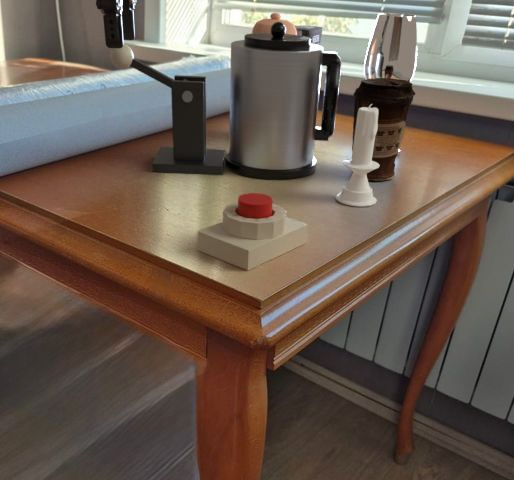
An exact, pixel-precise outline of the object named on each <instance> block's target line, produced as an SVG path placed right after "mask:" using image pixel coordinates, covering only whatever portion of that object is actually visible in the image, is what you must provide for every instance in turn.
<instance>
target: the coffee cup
mask: <svg viewBox="0 0 514 480" xmlns="http://www.w3.org/2000/svg"><path fill="white" fill-rule="evenodd" d="M352 96H353V97H354V101H353V103H354V104H353V107H354V109H353V122H352V144H351V151H352V152H353V144H354V136H355V129H356V121H357V114H358V110H359V108H362V107H369V106H370V105H371V104H372V105H371V107H370V108H377V109H378V111H379V114H378V130H377V133H376V135H375V141H374V148H373V155H372V161H375V162H377V163H378V164H379V165H380V166H379V168H377V169H375V170H373V171H371V172H369V173H367V179H368V181H387V180H388V181H389V180H392V179H393V178H395V176H396V174H395V168H396V158H397V157H398V155H399V154H398V151H399V150H400V147H401V145H402V143H403V138H404V135H405V132H406V126H407V124H406V121H407V118H408V113H409V109H410V107H411V105H412V102H413V101H414V97H415V96H416V92H415V91H414V89H413V83H412V82H411V81H410V82H409V81H406V80H401V79H393V78H375V79H363V80H360V84H359V85H358V87H356V89H355V91H354V92H353V93H352ZM352 152H351V153H352ZM350 171H351V170H350ZM352 174H353V172H352V171H351V175H352Z"/></svg>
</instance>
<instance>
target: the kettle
mask: <svg viewBox="0 0 514 480" xmlns="http://www.w3.org/2000/svg"><path fill="white" fill-rule="evenodd" d="M285 31H286V29H285V26H284V24H283V23H281V22H275V23H274V24H273V25H272V27H271V33H252V32H251V33H247V34H244V39H240V40H234V41H232V42H231V43H230V76H229V77H230V81H229V82H230V83H229V84H230V85H229V95H230V96H229V134H228V135H229V139H228V140H229V142H228V143H229V147H228V152H227V153H226V154H225V167H226V168H227V169H228V170H229V171H231V172H232V173H234V174H237V175H240V176H244V177H246V178H247V177H248V178H253V179H258V180H259V179H260V180H270V181H285V180H297V179H301V178H305V177H308V176H310V175H312V174H314V173H315V172H316V169H317V159H316V157H315V156H314V155H315V145H316V141H319V142H329V138H331V137H333V135H334V133H335V130H336V129H335V127H336V120H337V119H336V118H337V109H338V99H339V89H340V82H341V81H340V80H341V74H342V73H341V72H342V59H341V57H340V56H339V55H338V52H336V51H324V47H323V46H322V45H321V46H320V45H316V44H312V43H311V38H309V37H305V36H300V35H292V34H285ZM323 67H326V70H325V79H324V80H325V82H324V89H323V101H322V111H321V121H320V126H317V123H318V113H319V102H320V91H321V82H322V81H321V80H322V70H323Z"/></svg>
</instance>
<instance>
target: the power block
mask: <svg viewBox="0 0 514 480" xmlns="http://www.w3.org/2000/svg"><path fill="white" fill-rule="evenodd" d="M308 229H309V224H308V223H305V222H302V221H299V220H296V219H294V218H290V217H287V211H286V210H285V208H283V207H282V206H280V205H278V204H275V203H272V216H271V217H268V218H262V219H251V218H245V217H242V216H239V215H238V201H235V202H233V203H230V204H228V205H226V206H225V207H224V208H223V210H222V221H221V222H218V223H216V224H213V225H211V226H207V227H205V228H203V229H200V230H198V231H197V251H199V252H201V253H204V254H206V255H208V256H211V257H213V258H216V259H218V260H220V261H223V262H225V263H228V264H230V265H233V266H235V267H237V268H240V269H242V270H245V271H247V272H248V271H250V270H252V269H255V268H256V267H258V266H261V265H262V264H265V263H267V262H270V261H271V260H273V259H276V258H278V257H280V256H281V255H284V254H286V253H288V252H290V251H293V250H294V249H296V248H298V247H300V246H303V245H305V244H307V240H308Z"/></svg>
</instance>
